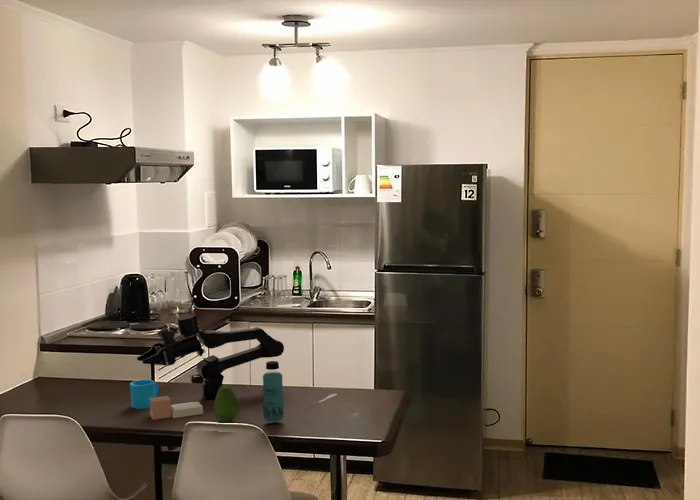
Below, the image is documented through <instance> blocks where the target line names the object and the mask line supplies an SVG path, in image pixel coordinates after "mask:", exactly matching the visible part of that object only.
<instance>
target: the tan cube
mask: <svg viewBox="0 0 700 500" xmlns="http://www.w3.org/2000/svg"><path fill="white" fill-rule="evenodd" d="M149 399H150V408H149V414H150V415H149V416H150V418H151V419H152V420H160V419H161V420H162V419H167V418H168V419H169V418H172V416H171V405H172V404H171V403H172V402H171V398H170V397H169V395H164V396H157V397H155V398H149Z"/></svg>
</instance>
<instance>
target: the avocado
mask: <svg viewBox="0 0 700 500" xmlns="http://www.w3.org/2000/svg"><path fill="white" fill-rule="evenodd" d="M239 405H240V403H239V400H238V398H237V396H236V393H235V392H234V390H233V388H231V387H230V386H229V385H226V384H224V385H222V386H221V387H220V388H219V390H218V392H217V396H216V399H214V403H213V409H214V414H215V416H216V418H217V419H218V421H220V422H222V423H229V422H231V421H233V420H234V419H235V418H236V417H237V416H238V413H239V410H240V407H239Z"/></svg>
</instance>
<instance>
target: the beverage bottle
mask: <svg viewBox="0 0 700 500" xmlns="http://www.w3.org/2000/svg"><path fill="white" fill-rule="evenodd" d="M265 369H266V370H268V371H266V372H265V373H264V374H263V375H262V385H263V386H262V388H263V389H262V393H263V395H262V396H263V399H262V402H263V403H262V406H263V407H262V409H263V410H262V411H263V413H262V414H263V419H264V421H266V422H270V423H271V422H279V421H283V419H284V415H285V414H284V413H285V412H284V391H283V385H284V384H283V374H282V373H281V372H280V371H278V370H279V369H280V365H279V361H277V360H269V361H266V364H265Z"/></svg>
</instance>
